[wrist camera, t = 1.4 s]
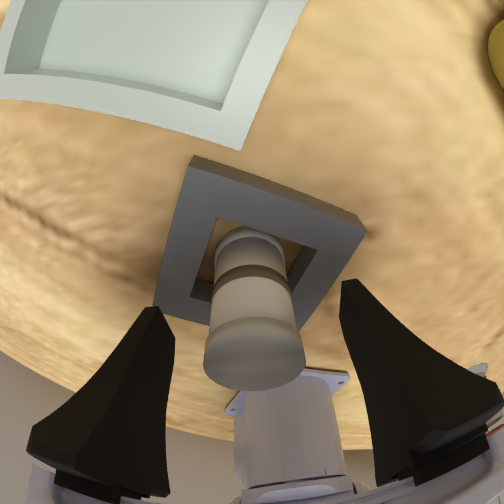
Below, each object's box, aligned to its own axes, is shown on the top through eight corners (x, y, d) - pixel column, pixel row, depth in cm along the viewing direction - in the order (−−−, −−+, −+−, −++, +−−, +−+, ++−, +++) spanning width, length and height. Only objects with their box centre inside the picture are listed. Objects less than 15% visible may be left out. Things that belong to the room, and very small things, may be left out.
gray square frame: (286, 324, 17) (289, 343, 16) (157, 291, 15) (151, 310, 14) (356, 215, 13) (367, 230, 12) (194, 155, 11) (188, 165, 10)
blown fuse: (267, 288, 16) (278, 395, 10) (207, 272, 15) (193, 381, 9) (294, 238, 14) (324, 347, 8) (228, 216, 13) (219, 325, 8)
